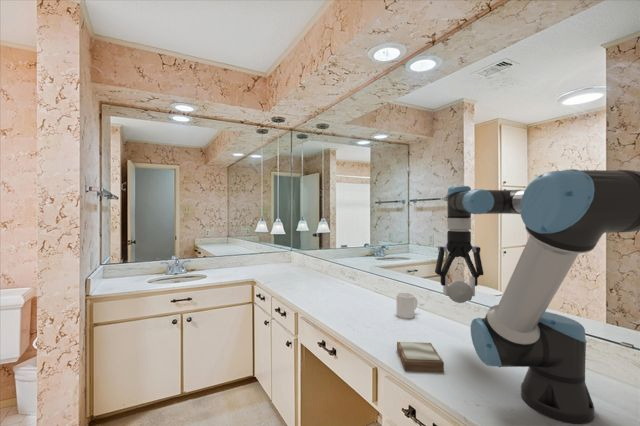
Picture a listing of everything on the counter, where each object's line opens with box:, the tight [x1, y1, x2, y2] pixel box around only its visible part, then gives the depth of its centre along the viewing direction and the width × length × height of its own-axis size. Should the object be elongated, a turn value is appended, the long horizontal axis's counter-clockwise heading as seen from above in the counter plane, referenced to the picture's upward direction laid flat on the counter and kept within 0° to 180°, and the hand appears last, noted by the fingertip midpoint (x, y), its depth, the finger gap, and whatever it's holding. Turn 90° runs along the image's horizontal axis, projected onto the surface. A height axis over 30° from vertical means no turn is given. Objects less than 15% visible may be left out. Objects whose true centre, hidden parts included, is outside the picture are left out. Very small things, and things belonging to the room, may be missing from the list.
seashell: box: [447, 280, 473, 304], centre depth 108 cm, size 9×11×15 cm
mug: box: [396, 291, 418, 320], centre depth 146 cm, size 12×8×10 cm
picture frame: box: [396, 341, 445, 373], centre depth 102 cm, size 14×12×3 cm
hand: (458, 294), depth 106 cm, fingers closed on seashell, 8 cm apart
